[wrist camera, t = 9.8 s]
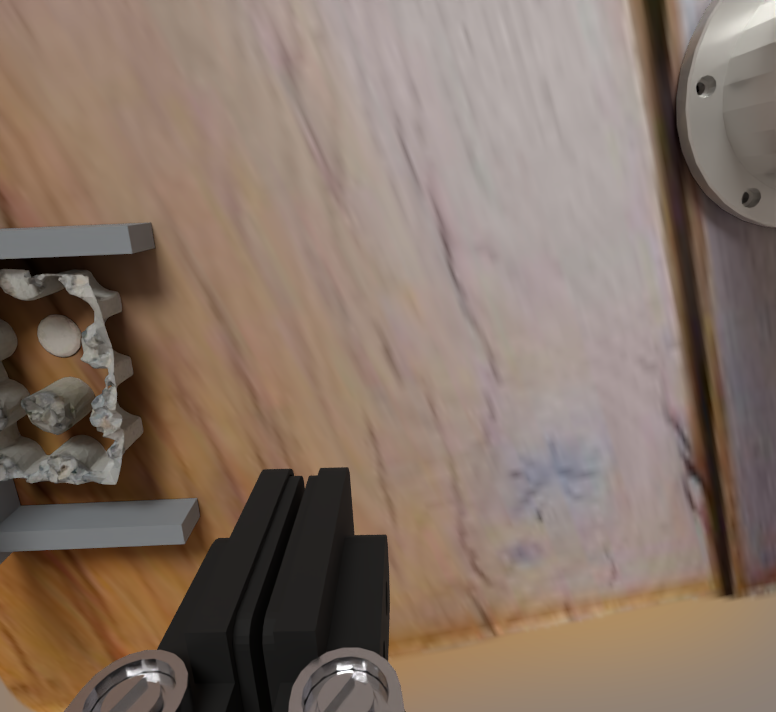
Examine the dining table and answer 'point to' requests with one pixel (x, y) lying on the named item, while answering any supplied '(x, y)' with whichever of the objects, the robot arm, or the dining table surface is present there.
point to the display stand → (101, 519)
